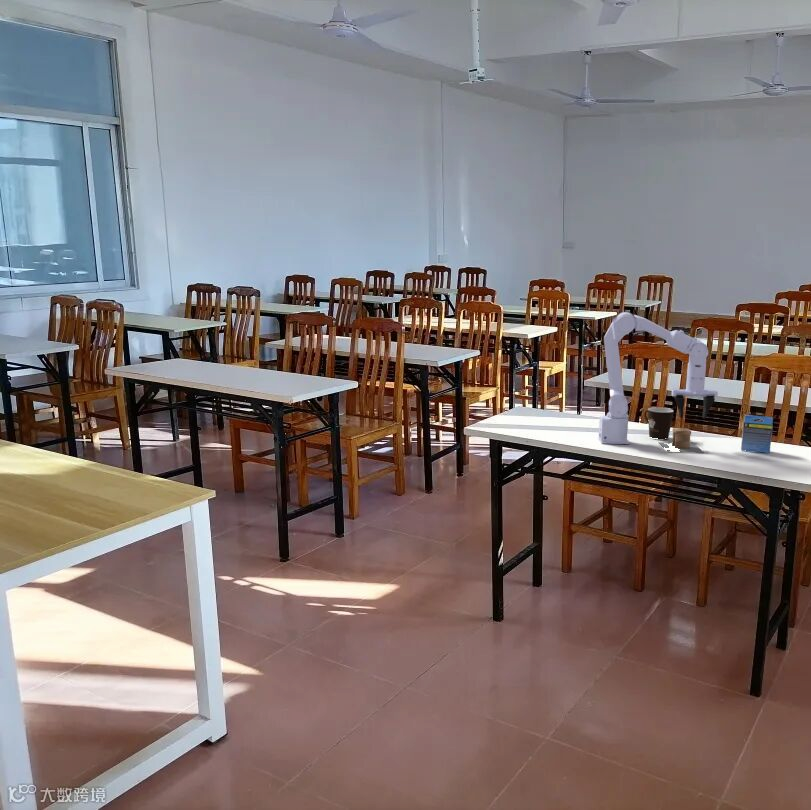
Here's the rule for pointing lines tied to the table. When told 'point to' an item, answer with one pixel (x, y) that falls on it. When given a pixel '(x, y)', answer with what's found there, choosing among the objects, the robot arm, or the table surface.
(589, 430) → the table surface
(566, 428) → the table surface
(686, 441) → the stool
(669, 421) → the coffee mug
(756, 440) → the label tape box
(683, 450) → the mat
